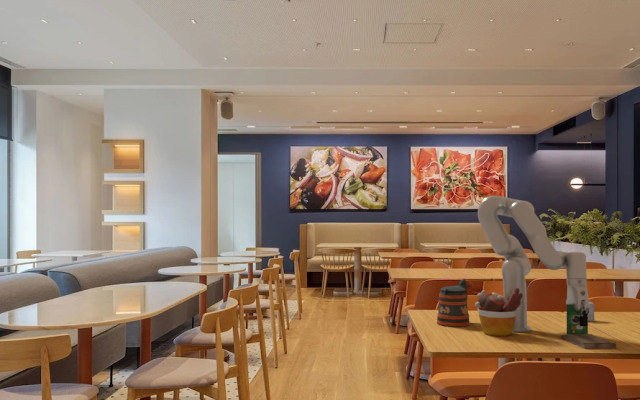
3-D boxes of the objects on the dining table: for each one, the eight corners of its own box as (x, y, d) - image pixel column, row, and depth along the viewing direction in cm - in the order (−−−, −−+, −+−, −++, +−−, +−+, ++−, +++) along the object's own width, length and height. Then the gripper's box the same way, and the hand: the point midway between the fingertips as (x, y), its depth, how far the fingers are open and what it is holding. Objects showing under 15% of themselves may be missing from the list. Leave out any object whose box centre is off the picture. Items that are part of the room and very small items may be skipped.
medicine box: (591, 320, 267) (590, 301, 268) (594, 321, 263) (594, 303, 263) (573, 319, 268) (573, 301, 269) (577, 321, 264) (576, 303, 264)
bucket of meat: (466, 333, 236) (466, 286, 237) (486, 328, 248) (485, 283, 248) (511, 340, 222) (511, 290, 223) (530, 334, 233) (529, 286, 234)
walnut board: (584, 348, 208) (584, 343, 208) (561, 338, 226) (561, 333, 226) (616, 348, 208) (615, 343, 208) (590, 338, 226) (590, 333, 226)
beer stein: (450, 318, 271) (450, 277, 272) (479, 322, 262) (478, 279, 263) (431, 324, 257) (430, 280, 258) (460, 328, 247) (460, 283, 248)
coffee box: (585, 335, 232) (584, 303, 232) (588, 336, 229) (588, 304, 229) (566, 335, 231) (565, 303, 232) (569, 337, 228) (569, 304, 229)
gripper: (596, 284, 222) (597, 327, 222) (575, 280, 239) (576, 320, 239) (578, 284, 222) (579, 328, 221) (557, 280, 239) (559, 320, 238)
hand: (577, 323), depth 230 cm, fingers open, 9 cm apart
